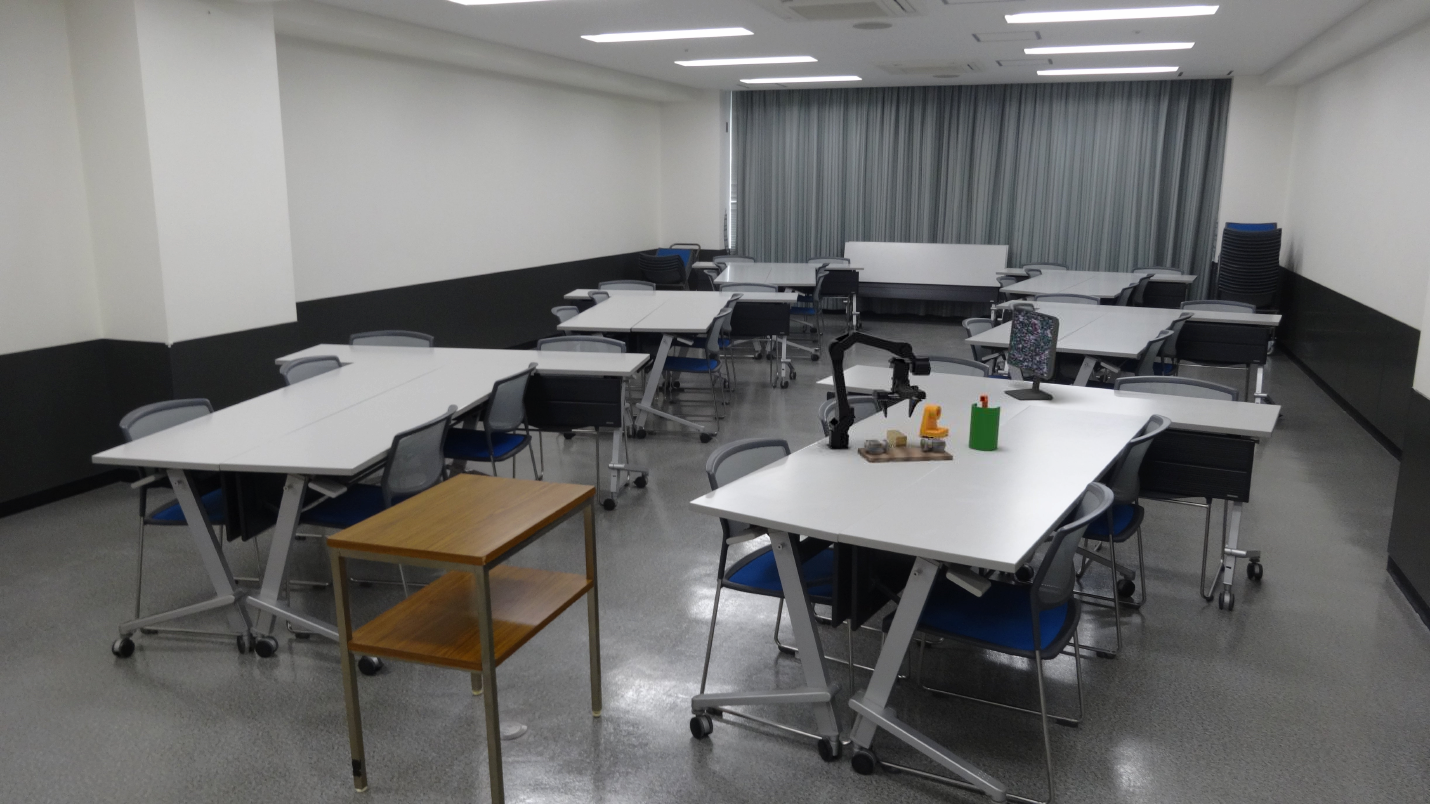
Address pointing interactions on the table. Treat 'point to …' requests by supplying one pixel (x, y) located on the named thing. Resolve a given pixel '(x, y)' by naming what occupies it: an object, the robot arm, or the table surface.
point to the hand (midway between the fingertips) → (897, 417)
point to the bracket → (932, 423)
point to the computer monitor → (1033, 349)
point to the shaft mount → (905, 451)
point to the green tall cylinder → (984, 426)
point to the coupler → (896, 438)
